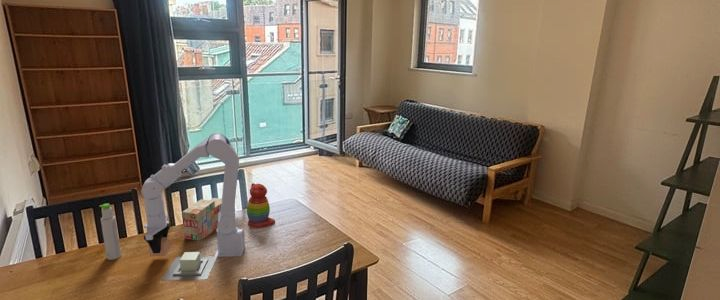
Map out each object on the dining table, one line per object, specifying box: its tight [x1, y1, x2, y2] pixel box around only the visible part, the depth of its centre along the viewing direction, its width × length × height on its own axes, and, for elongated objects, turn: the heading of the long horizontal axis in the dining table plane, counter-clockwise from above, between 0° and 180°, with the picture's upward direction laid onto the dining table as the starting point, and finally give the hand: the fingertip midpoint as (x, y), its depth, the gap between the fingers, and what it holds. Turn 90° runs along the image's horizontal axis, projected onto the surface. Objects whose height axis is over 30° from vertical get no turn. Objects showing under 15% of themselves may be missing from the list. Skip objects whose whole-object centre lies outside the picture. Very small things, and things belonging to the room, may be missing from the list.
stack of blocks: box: [182, 197, 222, 241], centre depth 164 cm, size 21×6×12 cm, turn 168°
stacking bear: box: [246, 182, 276, 229], centre depth 169 cm, size 11×10×18 cm
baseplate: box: [161, 255, 218, 281], centre depth 137 cm, size 14×14×1 cm
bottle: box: [99, 203, 122, 261], centre depth 140 cm, size 4×4×20 cm
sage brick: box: [180, 251, 201, 272], centre depth 137 cm, size 5×5×4 cm
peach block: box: [147, 236, 171, 257], centre depth 140 cm, size 5×5×4 cm
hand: (159, 248), depth 141 cm, fingers closed on peach block, 5 cm apart
